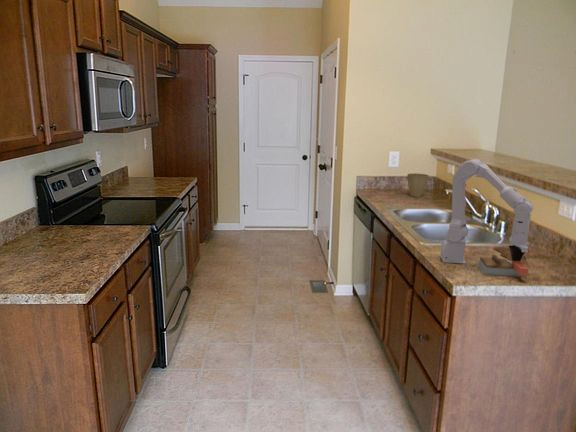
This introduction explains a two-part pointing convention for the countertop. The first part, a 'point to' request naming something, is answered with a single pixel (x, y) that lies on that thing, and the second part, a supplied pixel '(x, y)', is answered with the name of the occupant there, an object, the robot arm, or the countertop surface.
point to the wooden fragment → (509, 254)
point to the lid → (496, 262)
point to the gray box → (497, 270)
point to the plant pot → (417, 183)
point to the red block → (520, 268)
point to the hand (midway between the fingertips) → (515, 264)
